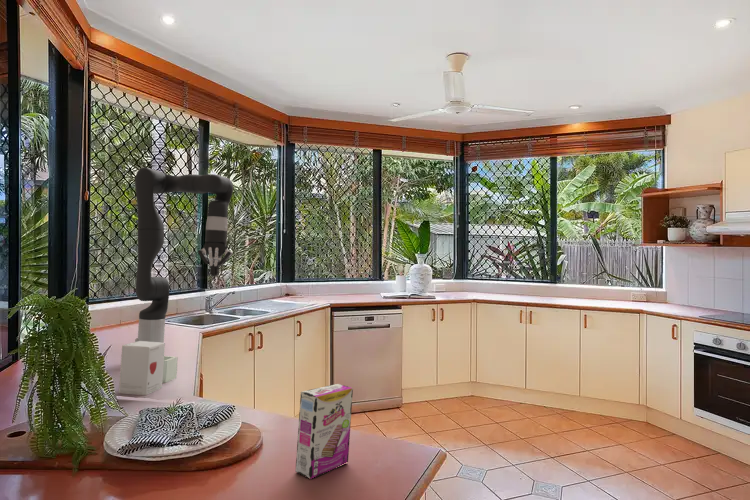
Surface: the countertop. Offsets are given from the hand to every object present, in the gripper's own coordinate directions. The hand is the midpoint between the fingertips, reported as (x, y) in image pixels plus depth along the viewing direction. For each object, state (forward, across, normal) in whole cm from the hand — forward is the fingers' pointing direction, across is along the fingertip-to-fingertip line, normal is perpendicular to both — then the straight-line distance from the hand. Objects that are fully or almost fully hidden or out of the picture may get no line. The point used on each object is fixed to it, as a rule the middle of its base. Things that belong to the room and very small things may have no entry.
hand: (214, 276), depth 178 cm
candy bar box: (+35, -56, +73) cm, 99 cm away
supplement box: (+35, +8, +31) cm, 48 cm away
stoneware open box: (+35, +8, +18) cm, 40 cm away
